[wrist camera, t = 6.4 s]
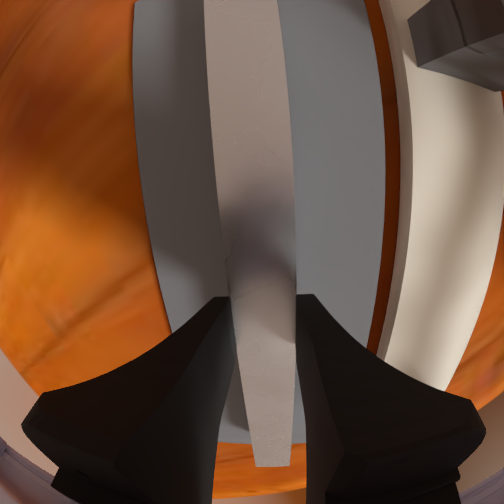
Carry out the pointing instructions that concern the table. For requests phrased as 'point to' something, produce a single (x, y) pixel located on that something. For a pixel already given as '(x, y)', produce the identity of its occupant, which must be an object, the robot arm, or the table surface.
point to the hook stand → (444, 178)
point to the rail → (256, 209)
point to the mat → (304, 166)
